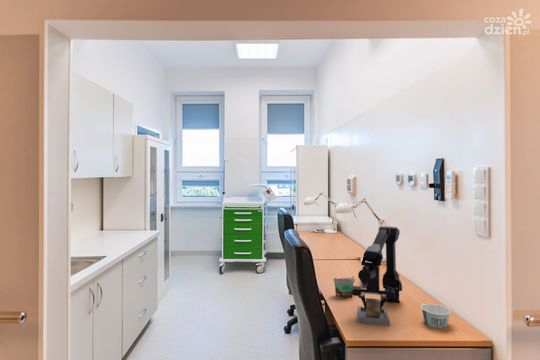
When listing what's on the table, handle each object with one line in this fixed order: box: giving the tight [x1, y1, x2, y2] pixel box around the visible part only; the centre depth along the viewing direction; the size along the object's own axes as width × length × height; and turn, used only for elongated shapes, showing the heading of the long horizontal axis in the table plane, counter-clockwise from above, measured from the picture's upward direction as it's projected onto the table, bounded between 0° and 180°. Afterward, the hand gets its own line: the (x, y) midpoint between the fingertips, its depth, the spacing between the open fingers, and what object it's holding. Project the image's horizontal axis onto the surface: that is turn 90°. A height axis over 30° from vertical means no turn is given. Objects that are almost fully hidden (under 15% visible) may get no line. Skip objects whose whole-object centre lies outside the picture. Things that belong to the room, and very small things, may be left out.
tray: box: [357, 305, 390, 326], centre depth 151 cm, size 13×13×2 cm
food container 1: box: [333, 275, 356, 299], centre depth 178 cm, size 12×6×10 cm, turn 105°
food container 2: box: [420, 303, 452, 329], centre depth 145 cm, size 12×12×6 cm
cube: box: [365, 297, 380, 317], centre depth 151 cm, size 6×6×6 cm
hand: (372, 310), depth 151 cm, fingers closed on cube, 6 cm apart
